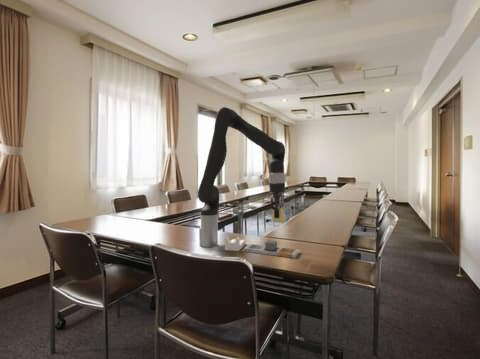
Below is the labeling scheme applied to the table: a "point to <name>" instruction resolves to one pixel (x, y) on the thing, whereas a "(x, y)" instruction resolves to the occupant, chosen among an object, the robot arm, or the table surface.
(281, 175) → the robot arm
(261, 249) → the grey long flat tray
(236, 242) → the bracket
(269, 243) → the brushed steel cube
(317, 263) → the table surface
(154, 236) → the table surface
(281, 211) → the yellow gold block
